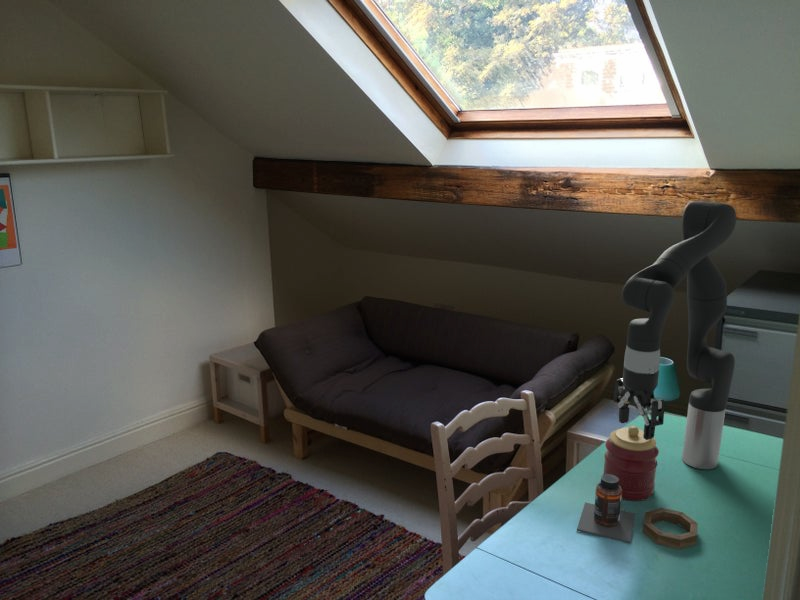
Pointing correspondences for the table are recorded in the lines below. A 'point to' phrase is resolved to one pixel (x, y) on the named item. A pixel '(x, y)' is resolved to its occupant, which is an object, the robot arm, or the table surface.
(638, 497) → the canister
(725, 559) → the table surface
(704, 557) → the table surface
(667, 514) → the collar
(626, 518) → the coaster
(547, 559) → the table surface
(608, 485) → the supplement bottle
